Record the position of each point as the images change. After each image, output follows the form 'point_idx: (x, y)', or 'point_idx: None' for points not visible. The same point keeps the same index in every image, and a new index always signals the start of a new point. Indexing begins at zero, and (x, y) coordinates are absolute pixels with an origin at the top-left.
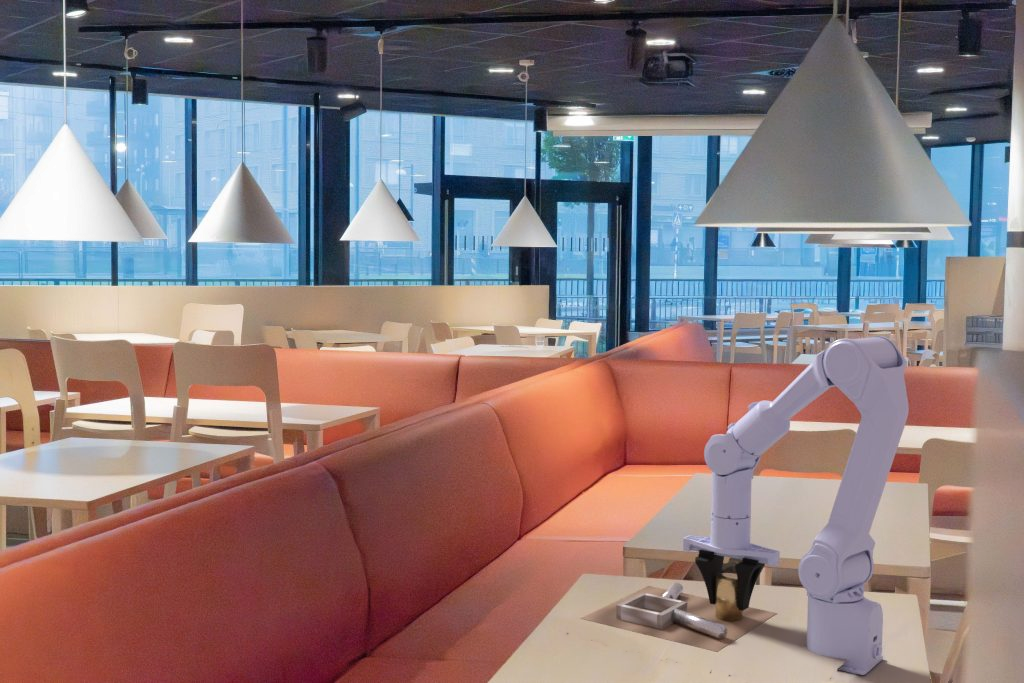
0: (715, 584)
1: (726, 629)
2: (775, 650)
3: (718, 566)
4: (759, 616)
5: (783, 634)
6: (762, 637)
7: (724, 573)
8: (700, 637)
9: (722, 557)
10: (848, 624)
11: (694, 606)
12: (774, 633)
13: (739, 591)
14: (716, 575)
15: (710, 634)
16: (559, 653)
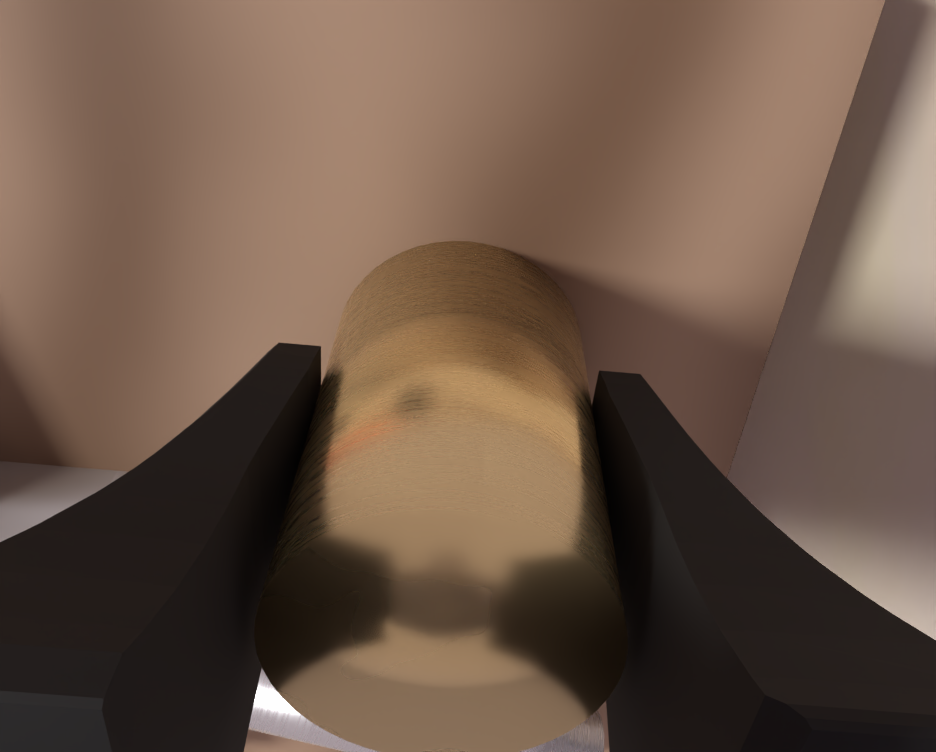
0: (272, 555)
1: (601, 743)
2: (883, 542)
3: (203, 669)
4: (714, 205)
5: (925, 245)
6: (765, 383)
7: (309, 566)
8: None
9: (152, 685)
10: None
11: (61, 252)
12: (847, 260)
13: None
14: (266, 666)
15: None
16: None
